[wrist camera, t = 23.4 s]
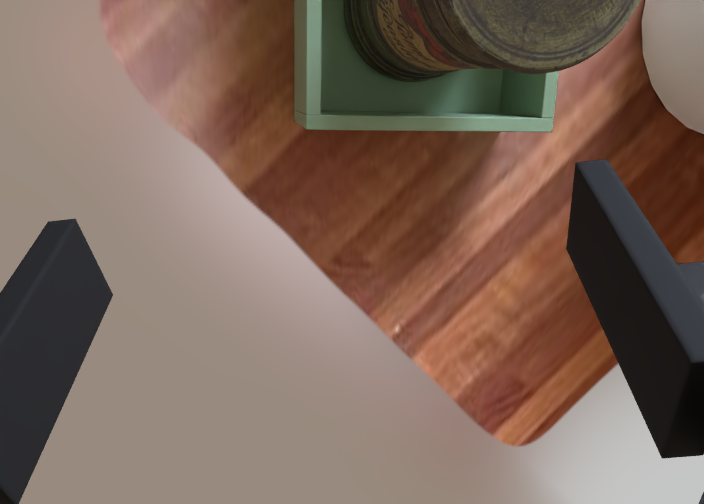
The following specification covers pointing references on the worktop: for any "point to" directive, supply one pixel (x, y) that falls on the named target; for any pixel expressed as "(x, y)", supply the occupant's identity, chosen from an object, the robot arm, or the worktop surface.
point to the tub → (404, 88)
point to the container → (480, 34)
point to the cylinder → (676, 57)
